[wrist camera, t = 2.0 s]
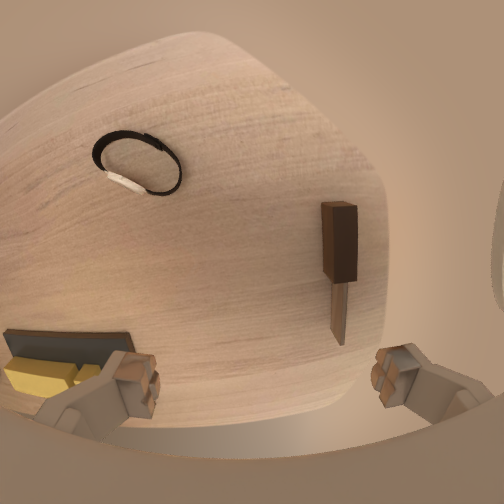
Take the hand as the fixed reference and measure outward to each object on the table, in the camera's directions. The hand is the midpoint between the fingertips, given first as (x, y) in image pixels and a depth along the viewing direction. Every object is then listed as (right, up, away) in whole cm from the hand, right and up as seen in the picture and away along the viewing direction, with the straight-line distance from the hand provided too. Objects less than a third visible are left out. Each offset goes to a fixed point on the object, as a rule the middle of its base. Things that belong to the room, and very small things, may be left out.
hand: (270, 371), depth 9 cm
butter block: (-25, -10, +15) cm, 31 cm away
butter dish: (-21, -9, +17) cm, 29 cm away
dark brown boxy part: (+7, +3, +15) cm, 17 cm away
